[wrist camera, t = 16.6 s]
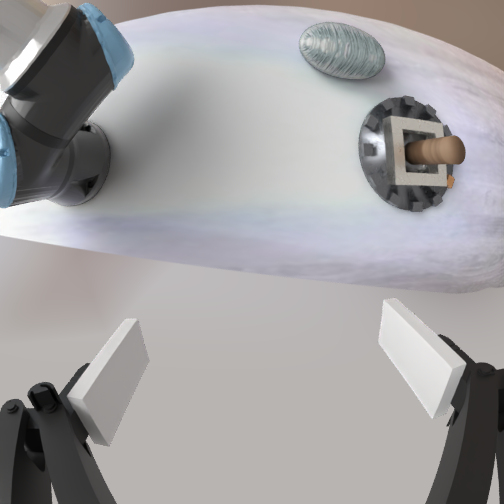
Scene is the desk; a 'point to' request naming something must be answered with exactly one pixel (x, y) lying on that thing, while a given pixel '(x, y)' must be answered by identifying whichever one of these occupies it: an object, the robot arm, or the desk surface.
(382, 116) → the sprocket plate
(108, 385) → the robot arm
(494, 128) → the desk surface
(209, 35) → the desk surface
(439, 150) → the drive pin
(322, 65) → the grey green streaked ellipsoid
